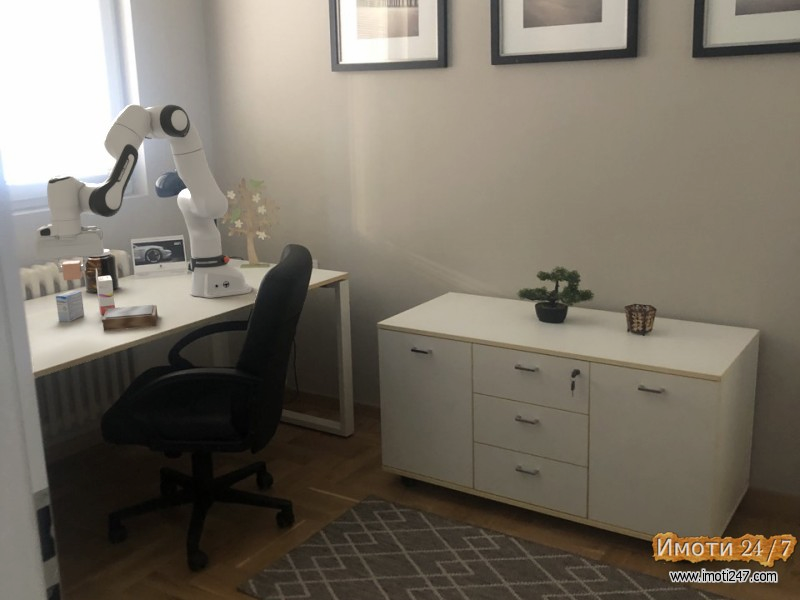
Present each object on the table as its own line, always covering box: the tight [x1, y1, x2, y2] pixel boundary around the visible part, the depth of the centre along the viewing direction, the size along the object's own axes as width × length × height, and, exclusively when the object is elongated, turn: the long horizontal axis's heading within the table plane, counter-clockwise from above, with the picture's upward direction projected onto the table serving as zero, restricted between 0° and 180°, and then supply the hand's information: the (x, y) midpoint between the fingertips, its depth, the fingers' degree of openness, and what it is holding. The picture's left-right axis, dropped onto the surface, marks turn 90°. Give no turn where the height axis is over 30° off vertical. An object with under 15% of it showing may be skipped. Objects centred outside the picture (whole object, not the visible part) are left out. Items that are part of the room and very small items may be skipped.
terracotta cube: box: [61, 260, 84, 281], centre depth 267 cm, size 5×5×5 cm
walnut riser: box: [101, 304, 158, 332], centre depth 275 cm, size 16×14×4 cm
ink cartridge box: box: [96, 269, 116, 315], centre depth 290 cm, size 9×5×15 cm, turn 23°
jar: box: [82, 248, 120, 294], centre depth 324 cm, size 12×12×15 cm
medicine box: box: [55, 290, 85, 323], centre depth 283 cm, size 8×4×9 cm, turn 163°
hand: (72, 271), depth 267 cm, fingers closed on terracotta cube, 5 cm apart
